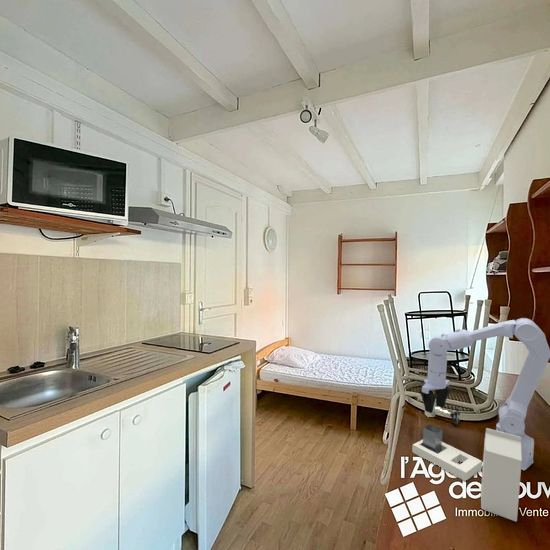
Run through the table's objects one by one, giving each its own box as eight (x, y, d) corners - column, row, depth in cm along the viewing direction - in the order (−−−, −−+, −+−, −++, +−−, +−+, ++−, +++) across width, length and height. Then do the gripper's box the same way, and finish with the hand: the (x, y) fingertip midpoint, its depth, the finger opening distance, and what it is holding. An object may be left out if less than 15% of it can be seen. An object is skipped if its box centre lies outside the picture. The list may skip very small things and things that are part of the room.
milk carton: (516, 522, 76) (523, 444, 75) (481, 509, 80) (486, 434, 79) (513, 504, 82) (519, 430, 81) (480, 492, 86) (485, 422, 85)
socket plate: (481, 469, 96) (481, 460, 96) (465, 481, 90) (465, 472, 90) (429, 443, 109) (429, 435, 109) (412, 452, 103) (412, 444, 103)
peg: (441, 454, 102) (442, 429, 102) (434, 458, 100) (435, 433, 100) (428, 448, 106) (430, 424, 105) (422, 451, 103) (423, 427, 103)
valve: (421, 417, 127) (455, 428, 120) (422, 400, 127) (457, 410, 119) (426, 411, 132) (459, 421, 125) (427, 395, 132) (460, 405, 124)
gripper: (436, 364, 120) (434, 400, 121) (414, 370, 112) (412, 409, 112) (456, 370, 114) (453, 407, 115) (434, 377, 106) (431, 417, 107)
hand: (434, 409), depth 113 cm, fingers open, 7 cm apart
